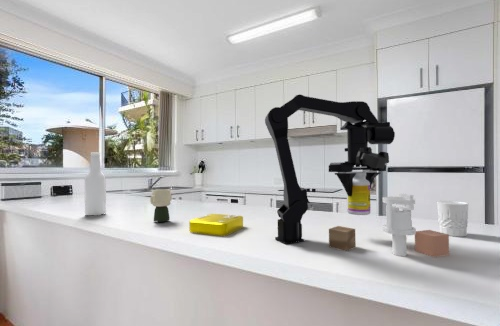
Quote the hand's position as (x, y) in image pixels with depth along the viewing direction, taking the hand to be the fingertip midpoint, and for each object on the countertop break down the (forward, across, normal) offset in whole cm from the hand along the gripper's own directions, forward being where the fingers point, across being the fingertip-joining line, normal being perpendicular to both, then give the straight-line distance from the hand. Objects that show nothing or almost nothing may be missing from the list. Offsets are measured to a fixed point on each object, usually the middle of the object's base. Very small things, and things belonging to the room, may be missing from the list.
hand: (358, 195), depth 80 cm
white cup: (+13, +29, -11) cm, 34 cm away
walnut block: (+13, -11, -4) cm, 18 cm away
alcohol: (+14, -76, +90) cm, 119 cm away
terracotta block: (+13, +5, -18) cm, 23 cm away
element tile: (+14, -34, +32) cm, 49 cm away
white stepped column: (+13, -3, -15) cm, 20 cm away
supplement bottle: (+6, 0, 0) cm, 6 cm away
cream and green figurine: (+13, -50, +56) cm, 76 cm away
